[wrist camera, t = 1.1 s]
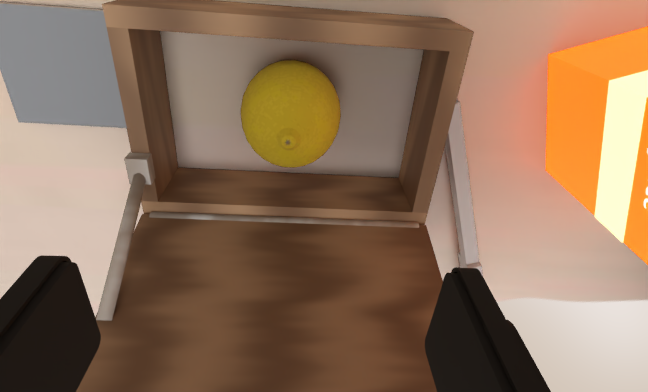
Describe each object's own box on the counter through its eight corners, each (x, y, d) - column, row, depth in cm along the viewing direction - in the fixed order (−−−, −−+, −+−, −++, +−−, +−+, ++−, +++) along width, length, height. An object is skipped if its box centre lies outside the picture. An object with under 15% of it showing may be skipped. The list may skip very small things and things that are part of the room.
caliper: (468, 292, 37) (496, 351, 31) (456, 295, 37) (482, 354, 31) (452, 77, 26) (490, 111, 21) (435, 81, 26) (469, 116, 21)
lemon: (269, 30, 24) (254, 63, 17) (350, 71, 25) (367, 116, 18) (238, 111, 26) (214, 167, 19) (313, 143, 28) (316, 206, 21)
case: (447, 18, 24) (651, 120, 10) (403, 219, 31) (481, 438, 17) (135, -6, 22) (-155, 71, 8) (169, 209, 30) (48, 437, 16)
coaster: (112, 10, 23) (108, 11, 22) (134, 124, 26) (130, 128, 26) (-17, 0, 22) (-24, 1, 22) (24, 118, 26) (18, 122, 25)
